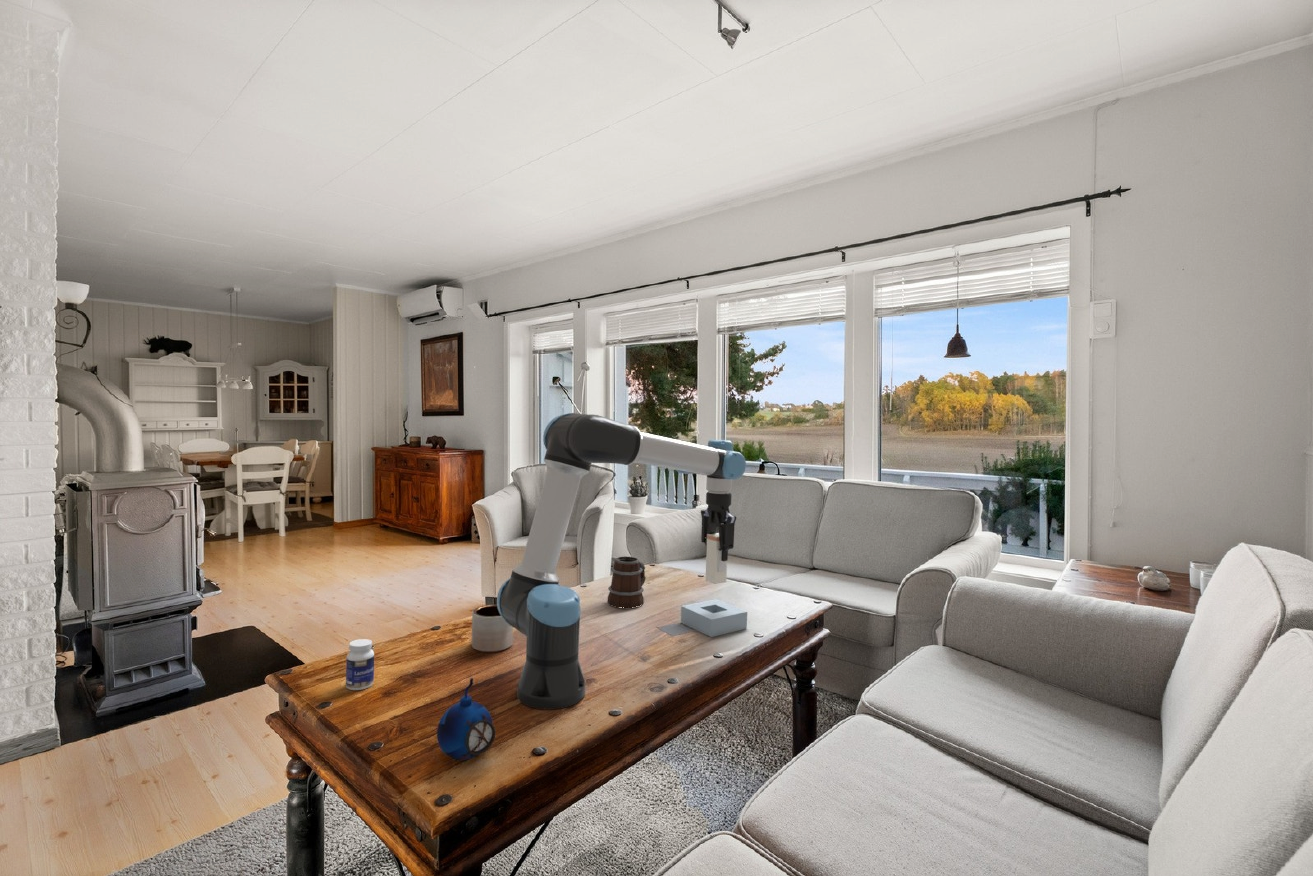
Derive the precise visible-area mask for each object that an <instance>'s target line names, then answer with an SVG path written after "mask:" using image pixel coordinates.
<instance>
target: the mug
mask: <svg viewBox="0 0 1313 876" xmlns="http://www.w3.org/2000/svg"><path fill="white" fill-rule="evenodd" d="M610 570H611V572H612V577H611V584H610V585H609V587H608V591H609V593H608V595H607V604H608V605H609V604H610V605H613V606H616V607H615V608H617V607H622V608H621V609H626V608H631V609H633V608H632V607H636V606H640V605H641V604H642V605H643V604H644V601H645V598H644V595H643V592H644V588H643V585H644V584H645V582H646V578H647V577H646V576H645V575H646V574H645V570H646V566H645V565H644V563H643V562H642V561H640V560H639V559H638V557H634V556H618V557H616V558H615V560H614V563H613V566H612V567H611V569H610ZM610 605H609V606H610ZM642 605H641V606H642ZM613 606H612V607H613ZM641 606H640V607H641ZM623 607H624V608H623ZM636 608H637V607H636Z"/></svg>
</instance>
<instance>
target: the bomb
mask: <svg viewBox="0 0 1313 876" xmlns="http://www.w3.org/2000/svg"><path fill="white" fill-rule="evenodd" d="M469 680H470V681H469V684H468V686H466V687H465V690H464V695H462V696H461V697H460V698H459V701H458V702H457V703H455V704H453V705H452V706H450V707H449V708H448V709H447V710H446V711H444V713H443V715H442V716H441V717H440V720H439V722H438V724H437V728H436V729H437V730H436V739H437V742H438V746H439V748H440V750H441V751H442V752H443V754H445V755H446V756H447V757H449V758H452V759H453V760H457V761H458V760H459V761H465V760H466V761H467V760H469V759H473V758H475V757H477V756H479V755H481V754H483V753H485V752H486V751H487V750H488V749H489V748H490V747H491V746H492V744H493V743H494V741H495V739H496V732H497V731H496V729H495V726H494V723H493V718H492V715H491V713H490V712H489V710H488V709H487V708H486V706H484V705H483V704H482V703H479V702H478V701H473V700H472V699H473V698H472V696H471V695H468V693H469V689H471V688H472V686H473V683H474V678H473V677H470V678H469Z"/></svg>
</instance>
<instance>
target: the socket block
mask: <svg viewBox="0 0 1313 876" xmlns="http://www.w3.org/2000/svg"><path fill="white" fill-rule="evenodd" d="M680 607H681V608H680V624H681V623H682V625H683V624H684V626H686V627H688V628H689V627H690V629H692V630H694V631H695V630H696V631H697V632H700V633H702V634H704V635H706V636H708V637H710V638H711V637H712V638H713V637H716V636H721V635H725V634H730V633H734V632H738V631H742V630H746V628H747V629H748V627H747V626H748V611H747V610H744V609H742V608H740V607H737V606H734V605H732V604H729V603H727V602H725V601H722V600H720V599H716V598H715V599H710V600H704V601H700V602H695V603H689V604H685V605H681V606H680Z"/></svg>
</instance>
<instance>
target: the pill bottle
mask: <svg viewBox="0 0 1313 876" xmlns="http://www.w3.org/2000/svg"><path fill="white" fill-rule="evenodd" d="M348 646H349V647H348V650H349V652H347V655H346V661H345V662H346V665H345V666H346V667H345V669H346V670H345V687H346V689H348V690H351V691H362V690H365V689H368V688H370V687H371V686H373V685H374V682H375V681H374V678H375V652H374V650H373V649H372V647H373V641H372V640H371V639H369V638H368V639H367V638H359V639H355V640H352V641H350V642H349V644H348Z"/></svg>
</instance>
